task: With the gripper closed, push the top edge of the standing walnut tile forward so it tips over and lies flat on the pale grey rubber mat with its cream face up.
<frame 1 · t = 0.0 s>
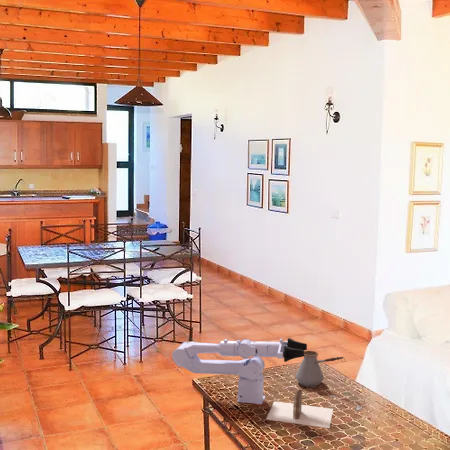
hand: (305, 350, 218), 22 cm above the table, tool horizontal, fingers open, 7 cm apart
tile: (297, 414, 212), resting on mat
handheld gaming device: (339, 405, 223), on the table
mat: (300, 415, 213), on the table
coffee pot: (319, 387, 240), on the table
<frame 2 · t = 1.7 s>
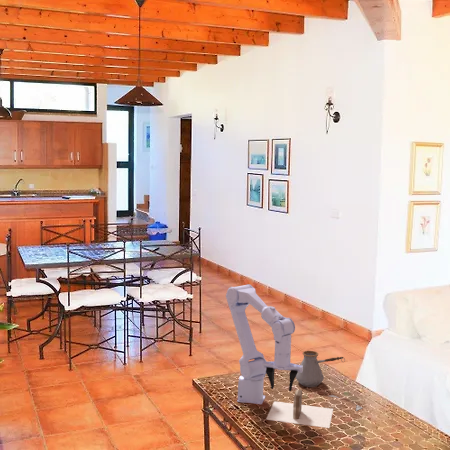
hand: (281, 388, 213), 9 cm above the table, tool pointing down, fingers open, 6 cm apart
nothing on the table moved.
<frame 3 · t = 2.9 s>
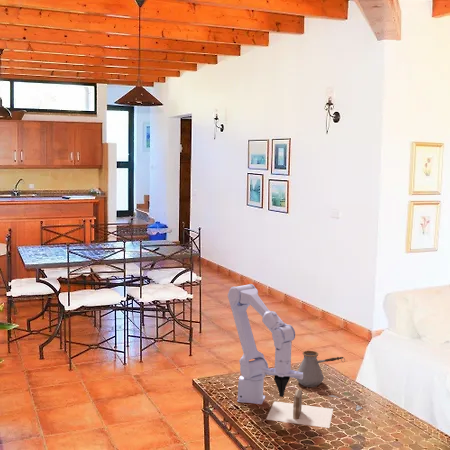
hand: (281, 395, 213), 7 cm above the table, tool pointing down, fingers closed
nothing on the table moved.
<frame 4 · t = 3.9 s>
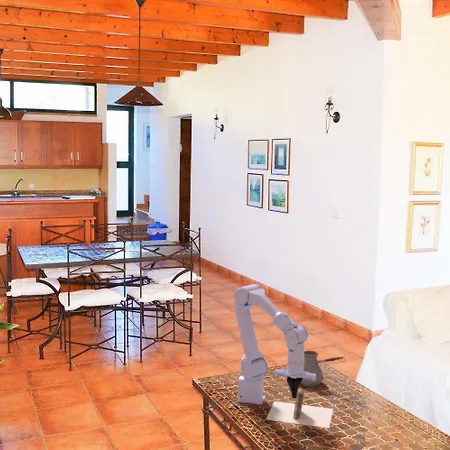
hand: (294, 397, 212), 7 cm above the table, tool pointing down, fingers closed
tile: (297, 414, 212), point 1 cm above the table, tilted 7°, touching gripper, mat
everything else where it was.
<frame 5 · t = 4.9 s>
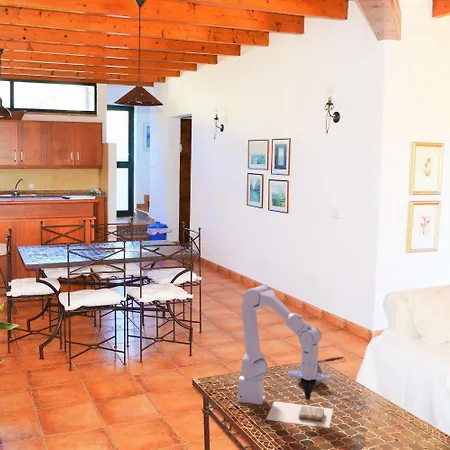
hand: (308, 398, 211), 7 cm above the table, tool pointing down, fingers closed
tile: (300, 412, 212), point 1 cm above the table, tilted 90°, touching mat
everything else where it was.
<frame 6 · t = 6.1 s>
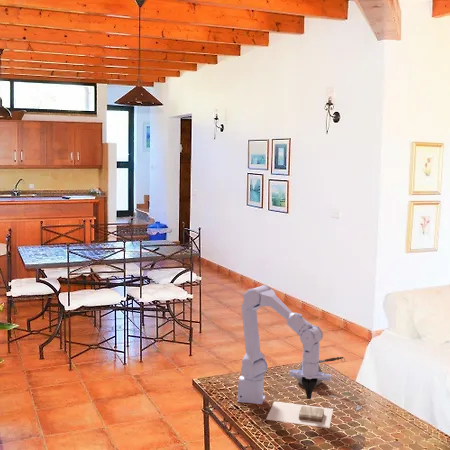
hand: (309, 397, 211), 7 cm above the table, tool pointing down, fingers closed
nothing on the table moved.
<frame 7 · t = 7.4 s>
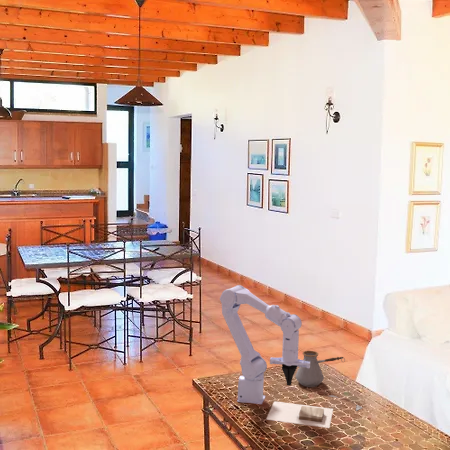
hand: (289, 384, 217), 9 cm above the table, tool pointing down, fingers closed
nothing on the table moved.
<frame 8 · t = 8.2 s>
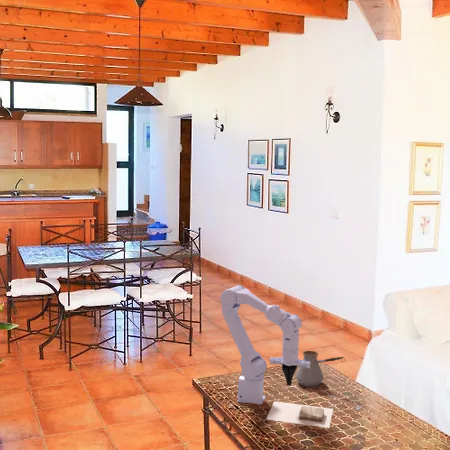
hand: (289, 384, 217), 9 cm above the table, tool pointing down, fingers closed
nothing on the table moved.
at the end: tile tilted 90°; tile inside the target area (1.4 cm from its centre), point 1.5 cm above the table; tile touching mat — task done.
